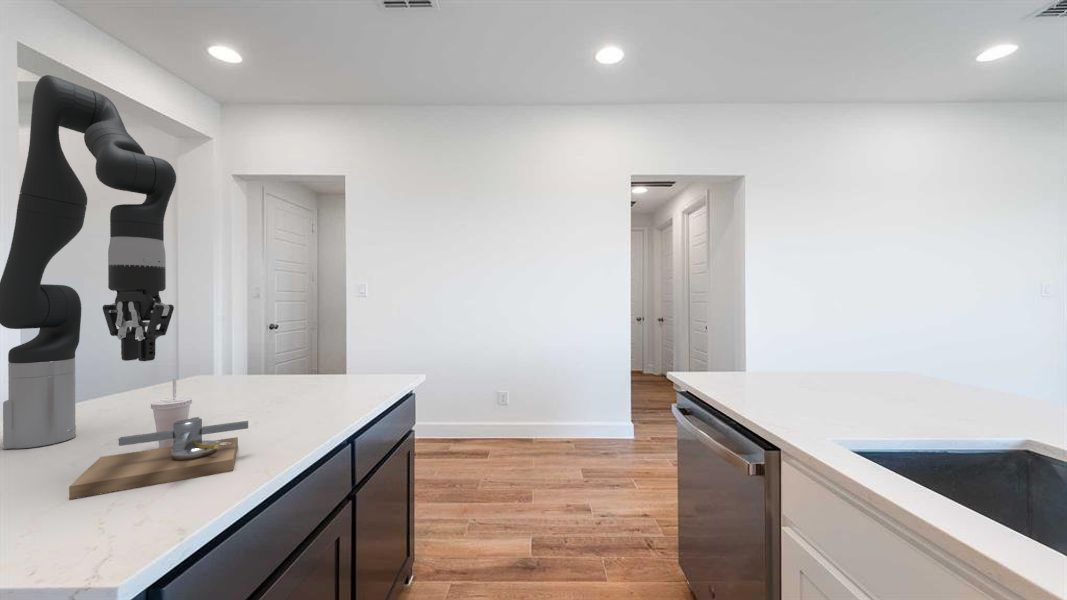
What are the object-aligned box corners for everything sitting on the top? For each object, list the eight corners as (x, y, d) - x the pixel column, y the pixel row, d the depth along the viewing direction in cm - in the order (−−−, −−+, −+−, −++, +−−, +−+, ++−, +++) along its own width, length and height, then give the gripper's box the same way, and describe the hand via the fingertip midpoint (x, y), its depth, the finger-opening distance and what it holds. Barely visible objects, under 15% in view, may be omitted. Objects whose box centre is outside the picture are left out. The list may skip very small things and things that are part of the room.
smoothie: (173, 454, 82) (173, 382, 82) (141, 454, 82) (140, 382, 82) (200, 443, 88) (200, 376, 88) (170, 442, 88) (170, 376, 88)
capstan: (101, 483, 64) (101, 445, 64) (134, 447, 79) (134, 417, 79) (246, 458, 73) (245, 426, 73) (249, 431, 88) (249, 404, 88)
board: (69, 499, 63) (69, 485, 63) (100, 468, 75) (100, 455, 75) (232, 470, 74) (232, 458, 74) (237, 446, 86) (237, 436, 86)
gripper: (190, 265, 78) (190, 358, 78) (132, 266, 81) (132, 356, 81) (144, 262, 70) (145, 364, 71) (82, 263, 74) (82, 362, 74)
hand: (138, 359), depth 76 cm, fingers open, 3 cm apart
